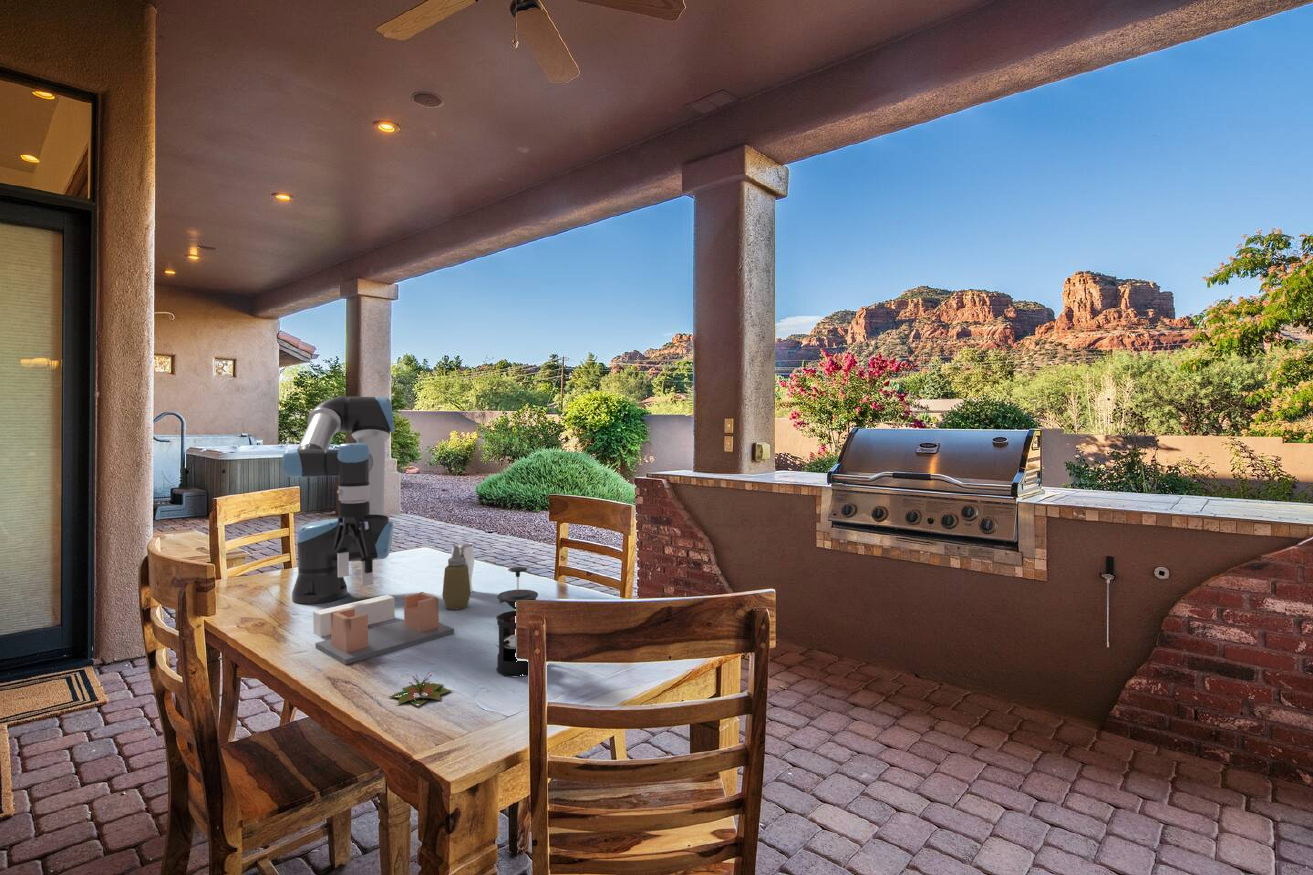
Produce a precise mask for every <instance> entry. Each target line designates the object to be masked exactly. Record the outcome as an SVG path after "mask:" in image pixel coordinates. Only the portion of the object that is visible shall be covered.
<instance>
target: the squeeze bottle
mask: <svg viewBox="0 0 1313 875" xmlns="http://www.w3.org/2000/svg"><path fill="white" fill-rule="evenodd" d="M447 562H448V563H447V566H445V567H444V574H443V585H442V595H441V596H442V599H443V602H444V604H445V608H446V609H447V610H461V609H464V608H467V607H468V604H469V602H470V598H471V595H472V593H471V591H470V581H469V572H468V566H466V565H464V564H465V558H463V557H461V555H460V551H459V547H458V546H454V550H453V555H452V558H451V557H449V558H448V559H447Z"/></svg>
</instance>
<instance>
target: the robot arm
mask: <svg viewBox="0 0 1313 875" xmlns="http://www.w3.org/2000/svg"><path fill="white" fill-rule="evenodd" d="M394 421H395V420H394V413H393V407H392V402H391V400H390V399H389V398H388V397H382V396H377V395H375V396H344V395H342V396H337V397H333V398H330V399H327V400H325V401H322V402H321V403H319V404H317V405H315V407H314V408H313V409H312V410H311V412H310V413H309V415H308V417H307V421H306V422H307V428H306V430H305V432H304V434H303V437H302V438H301V440H300V443H299V445H298V447H297V448H293V449H288V450H284V453H283V455H282V461H281V462H282V463H281V464H282V466H281V467H282V471H283V475H284V476H286V477H288V478H320V477H321V478H322V477H324V478H325V477H338V484H337V487H338V488H337V490H336V491H337V492H336V494H338V501H339V502H338V507H337V508H338V516H339V517H338V518H334V519H333V518H331V519H323V520H317V521H314V522H313V521H312V522H309V523H306V524H303V525H302V526H300V527H299V528H298V531H297V541H296V543H297V565H298V566H297V567H298V568H297V572H298V573H297V578H296V579H295V583H294V586H293V589H292V592H291V601H292V602H294V603H296V604H297V603H298V604H305V605H306V604H308V605H310V604H321V603H330V602H333V601H338V600H340V599H343V598H345V597H346V596H347V595H348V585H347V582H346V580H345V577H349V575H350V567H349V566H350V562H360V580H361V581H360V582H361V584H360V586H361V587H365V586H369V585H370V586H371V585H373V584H374V574H373V573H374V572H373V570H374V569H373V567H374V566H373V565H374V564H373V563H374V561H376V560H384V559H386V558H388V557H389V555H390V552H391V548H392V542H393V536H394V522H392V521H390V520H389V519H390V518H389V515H388V514H387V513H385V511H384V510H385V508H384V507H385V458H386V456H385V455H386V453H385V452H386V451H385V450H386V441H387V440H388V439H390V437H391V433H393V432H395V431H396V429H395V422H394ZM343 432H345V433H351V437H352V438H353V440H355V441H356V442H351V443H347V442H346V443H341V444H339V445H338V447H337V448H338V449H337V448H335V449H330V446H331V443H332V442H333V441H332V440H333V438H334V435H335V434H337V433H343Z"/></svg>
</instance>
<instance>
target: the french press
mask: <svg viewBox="0 0 1313 875" xmlns="http://www.w3.org/2000/svg"><path fill="white" fill-rule="evenodd" d="M526 571H528V568H527V567H525V566H512V567H510V568H508V572H510V573H515V578H516V589H511V590H510V589H509V590H505V591H503V592H500V593H498V594H497V596H496V597H497V599H498V602H499V605H500V604H503V603H506V604H507V605H508V606H509V607H511V608H513V609H514V610H510V611H505V612H503V613H500V615H499V614H498V615H499V616H498V615H497V616H498V617H497V618H496V622H497V625H498V654H497V659H496V660H497V666H496V673H497V674H498V673H499V675H500V674H501V675H500V676H502V675H504V676H503V677H506V676H520V675H521V676H522V674H523V675H526V676H529V675H528V662H527V661H517V659H516V657H515V653H516V635H510V629H516V623H510V617H513V616H516V610H517V609H516V607H515V602H516V600H536V601H537V598H538V596H539V593H538V592H537V591H535V590H532V589H521V588H520V587H519V584H520V583H519V582H520V581H519V579H520V577H521V573H523V572H526ZM519 588H520V589H519ZM502 619H503V621H501V620H502ZM516 661H517V662H516ZM526 676H525V677H526ZM522 677H523V676H522Z"/></svg>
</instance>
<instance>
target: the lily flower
mask: <svg viewBox="0 0 1313 875" xmlns="http://www.w3.org/2000/svg"><path fill="white" fill-rule="evenodd" d="M422 674H423V673H421V676H422ZM429 674H430V672H428V673H427V674H426V675H425V677H423V679H419V677H418V675H417V674H415V676H416V677H415V676H414V675H413V676H411V677H412V678H413V681H414V683H415V684H413V683H412V682H411V681H409V682H408V684H410V685H407V686H405V687H402V691H399V692H395V693H394V694H392V695H389V696H388V698H395V699H398V701H397V704H398V705H400V704H404V703H405V702H408V701H409V702H410V704H412V705H413V706H416V708H418V707H420V706H422V704H424V703H425V702H428V701H429V699H432V700H433V699H434V700H438V701H442V700H441V695H443V694H446V693H450V692H452V689H447V688H446V687H444V688H443V687H442V688H441V686H442V685H444V683H437V682H432V681H430V680H429V678H430V677H432V676H433V674H430V675H429ZM423 684H424V685H423ZM404 693H408V694H405V695H403V694H404ZM414 693H417V694H418V696H416V697H415V698H414V696H413V695H414ZM424 693H425V694H426V693H427V694H428V695H427V696H426V695H425V697H424V696H422V695H423V694H424ZM421 694H422V695H421ZM398 695H399V696H400V695H402V696H401V697H395V696H398ZM419 695H420V696H419ZM424 698H425V699H424ZM414 699H416V700H417V699H421V700H422V701H421V700H420V701H421V702H417V701H415V700H414ZM423 699H424V700H423ZM416 704H419V706H418V707H417V705H416Z"/></svg>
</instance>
